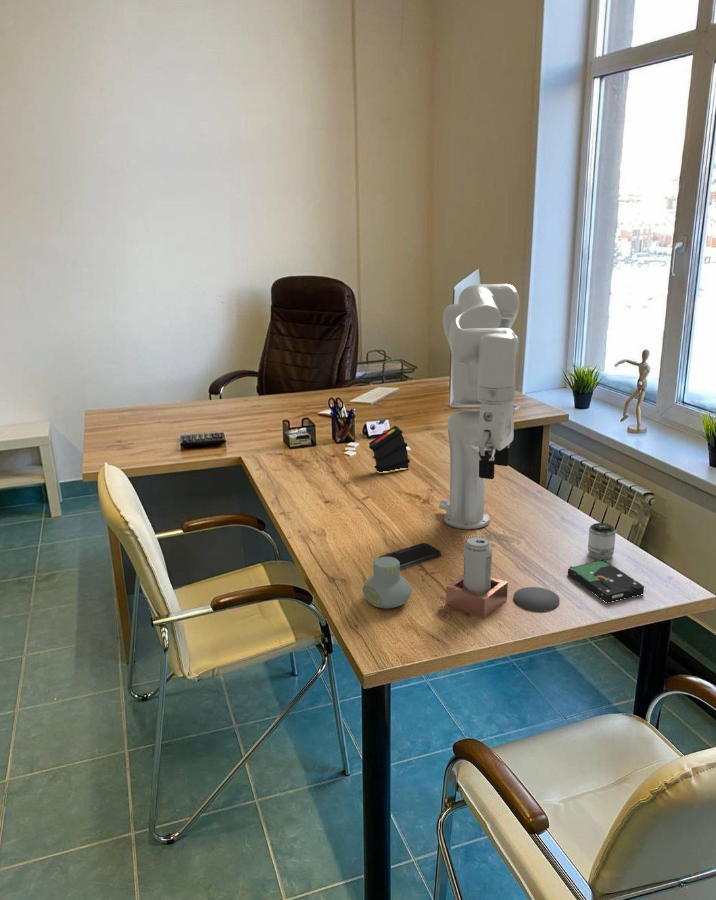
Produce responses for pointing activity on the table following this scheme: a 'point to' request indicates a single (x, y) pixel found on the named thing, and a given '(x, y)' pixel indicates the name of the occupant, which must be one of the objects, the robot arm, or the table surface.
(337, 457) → the table surface
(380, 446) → the magazine
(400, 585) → the air freshener
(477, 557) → the energy drink can
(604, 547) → the camera lens
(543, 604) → the mat
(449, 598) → the collar
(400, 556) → the phone
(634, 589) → the disk drive
